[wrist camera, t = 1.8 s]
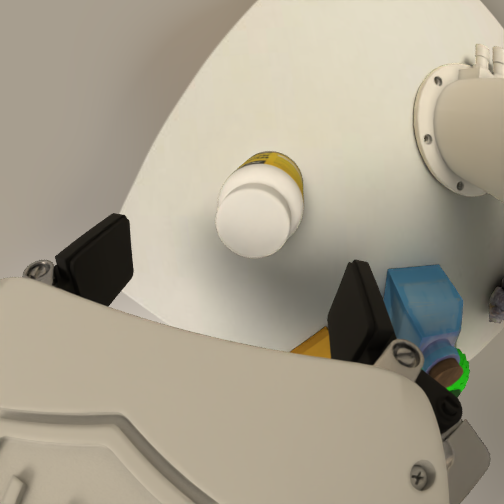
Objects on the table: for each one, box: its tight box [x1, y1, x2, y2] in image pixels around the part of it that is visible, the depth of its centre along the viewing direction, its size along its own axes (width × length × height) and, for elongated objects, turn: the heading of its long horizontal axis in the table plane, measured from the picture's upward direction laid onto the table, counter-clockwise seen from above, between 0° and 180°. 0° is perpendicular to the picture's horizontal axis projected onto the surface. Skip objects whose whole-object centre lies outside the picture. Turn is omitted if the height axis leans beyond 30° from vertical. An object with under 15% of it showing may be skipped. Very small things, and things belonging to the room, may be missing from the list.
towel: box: [290, 327, 331, 359], centre depth 33 cm, size 12×10×1 cm
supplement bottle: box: [216, 151, 304, 258], centre depth 18 cm, size 5×5×10 cm
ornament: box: [446, 348, 470, 397], centre depth 25 cm, size 8×8×10 cm
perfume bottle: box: [383, 265, 463, 388], centre depth 20 cm, size 6×6×12 cm
